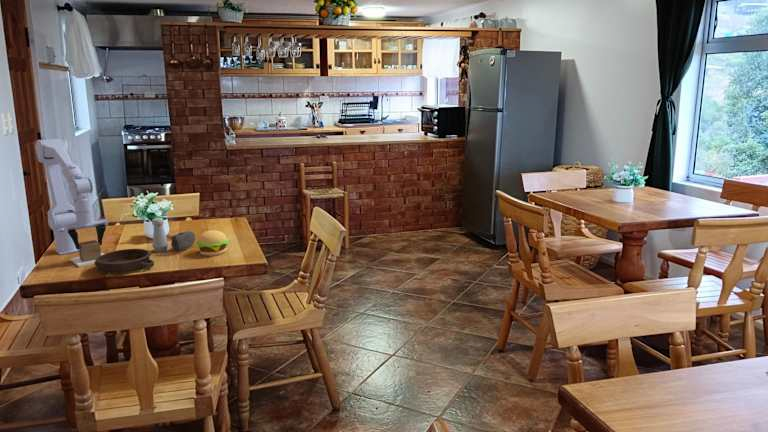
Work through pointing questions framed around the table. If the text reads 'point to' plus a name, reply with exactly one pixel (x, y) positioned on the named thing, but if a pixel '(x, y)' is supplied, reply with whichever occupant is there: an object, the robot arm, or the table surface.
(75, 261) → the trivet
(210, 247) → the hamburger
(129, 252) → the dish
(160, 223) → the salt shaker
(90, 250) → the walnut cube
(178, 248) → the perforated stone tool
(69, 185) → the robot arm
